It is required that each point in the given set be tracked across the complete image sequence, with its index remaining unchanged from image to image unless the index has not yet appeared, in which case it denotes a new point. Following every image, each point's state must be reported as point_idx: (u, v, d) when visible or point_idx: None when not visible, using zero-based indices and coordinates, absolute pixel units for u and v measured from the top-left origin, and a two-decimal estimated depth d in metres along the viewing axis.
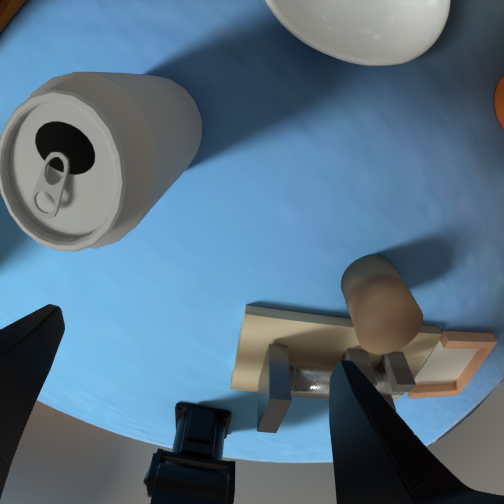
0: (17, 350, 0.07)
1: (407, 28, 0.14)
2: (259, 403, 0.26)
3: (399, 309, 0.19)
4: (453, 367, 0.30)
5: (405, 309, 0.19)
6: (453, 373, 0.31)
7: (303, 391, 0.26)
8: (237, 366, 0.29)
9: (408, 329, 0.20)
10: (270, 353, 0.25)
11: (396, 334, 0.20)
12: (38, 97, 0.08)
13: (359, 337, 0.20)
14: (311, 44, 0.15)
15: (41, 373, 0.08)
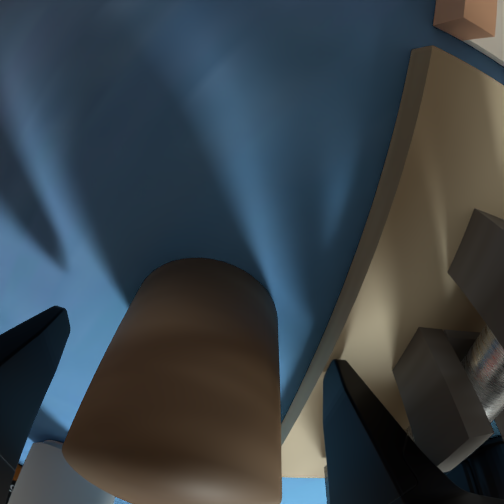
0: (23, 353, 0.07)
1: None
2: None
3: (95, 473, 0.05)
4: None
5: (89, 465, 0.05)
6: None
7: None
8: None
9: (162, 470, 0.05)
10: (326, 486, 0.12)
11: (188, 487, 0.05)
12: None
13: None
14: None
15: (47, 375, 0.08)
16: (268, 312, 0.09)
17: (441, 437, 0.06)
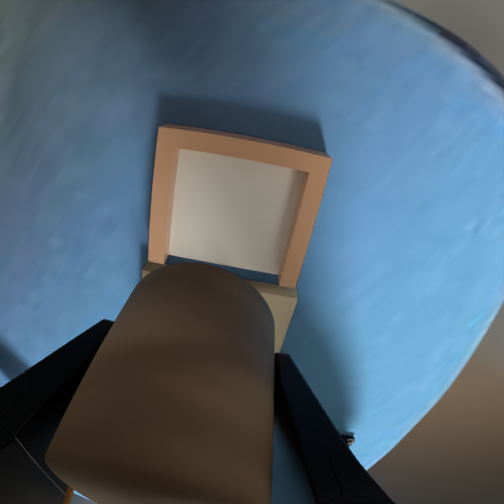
0: (79, 373, 0.07)
1: None
2: None
3: (80, 484, 0.05)
4: (246, 192, 0.18)
5: (72, 476, 0.05)
6: (267, 184, 0.18)
7: None
8: None
9: (142, 487, 0.04)
10: None
11: None
12: None
13: None
14: None
15: None
16: (263, 320, 0.09)
17: None
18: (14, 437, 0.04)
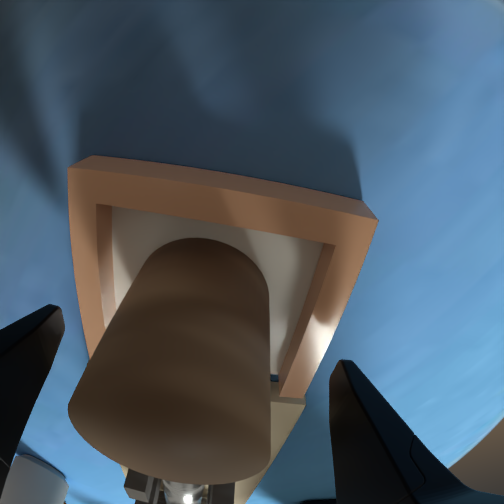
0: (17, 350, 0.07)
1: None
2: None
3: (98, 433, 0.06)
4: None
5: (92, 424, 0.06)
6: (261, 255, 0.11)
7: None
8: None
9: (159, 419, 0.06)
10: None
11: (183, 441, 0.06)
12: None
13: (202, 483, 0.07)
14: None
15: (41, 373, 0.08)
16: (259, 285, 0.10)
17: None
18: None
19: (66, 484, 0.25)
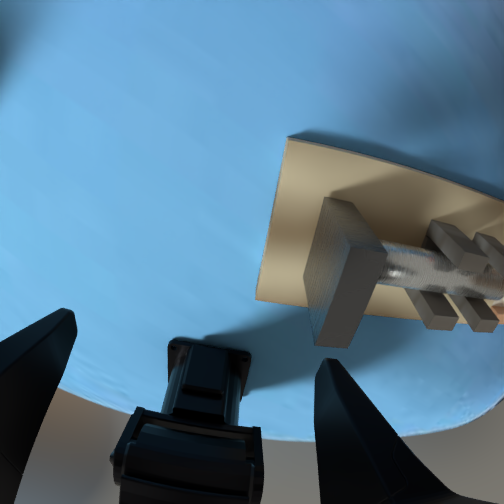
0: (31, 356, 0.07)
1: None
2: (313, 299, 0.16)
3: None
4: None
5: None
6: None
7: (382, 277, 0.16)
8: (270, 250, 0.19)
9: None
10: (330, 204, 0.16)
11: None
12: None
13: None
14: None
15: (54, 378, 0.08)
16: None
17: (473, 249, 0.14)
18: None
19: None
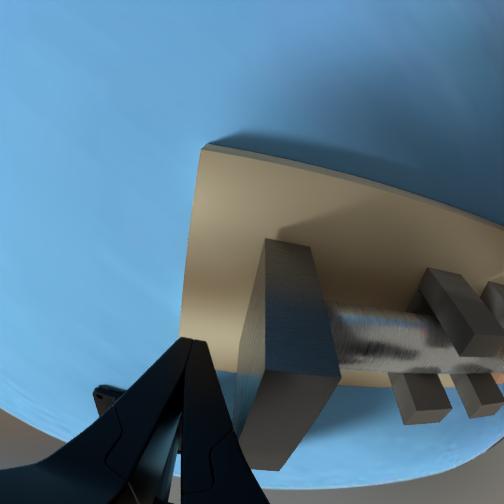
0: (173, 398, 0.07)
1: None
2: (237, 393, 0.10)
3: None
4: None
5: None
6: None
7: (348, 364, 0.10)
8: (187, 306, 0.13)
9: None
10: (268, 254, 0.10)
11: None
12: None
13: None
14: None
15: (179, 413, 0.08)
16: None
17: (486, 323, 0.09)
18: (124, 481, 0.04)
19: None
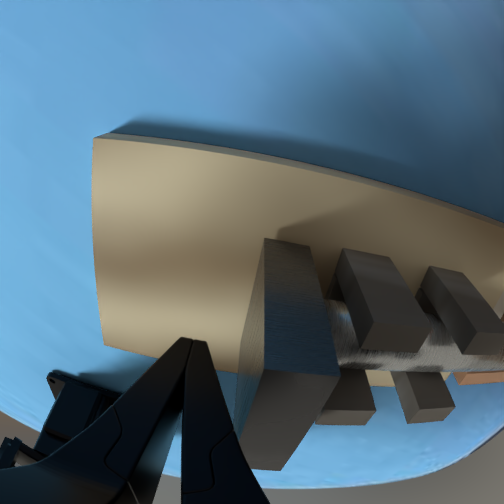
0: (173, 398, 0.07)
1: None
2: (238, 393, 0.10)
3: None
4: None
5: None
6: None
7: (349, 363, 0.10)
8: (101, 288, 0.13)
9: None
10: (268, 254, 0.10)
11: None
12: None
13: None
14: None
15: (179, 413, 0.08)
16: None
17: (401, 311, 0.09)
18: (124, 481, 0.04)
19: None
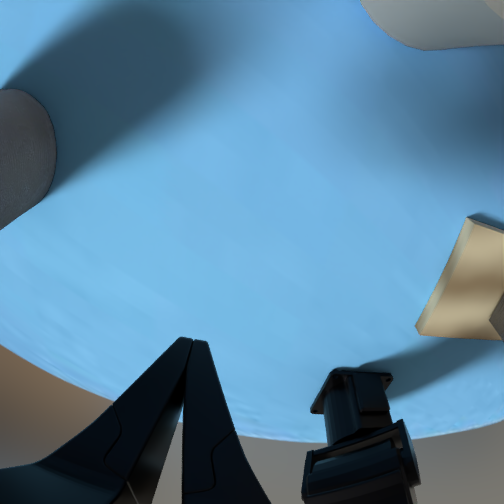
0: (172, 398, 0.07)
1: None
2: None
3: None
4: None
5: None
6: None
7: None
8: (441, 299, 0.21)
9: None
10: None
11: None
12: None
13: None
14: None
15: (178, 413, 0.08)
16: None
17: None
18: (123, 481, 0.04)
19: (411, 46, 0.14)
